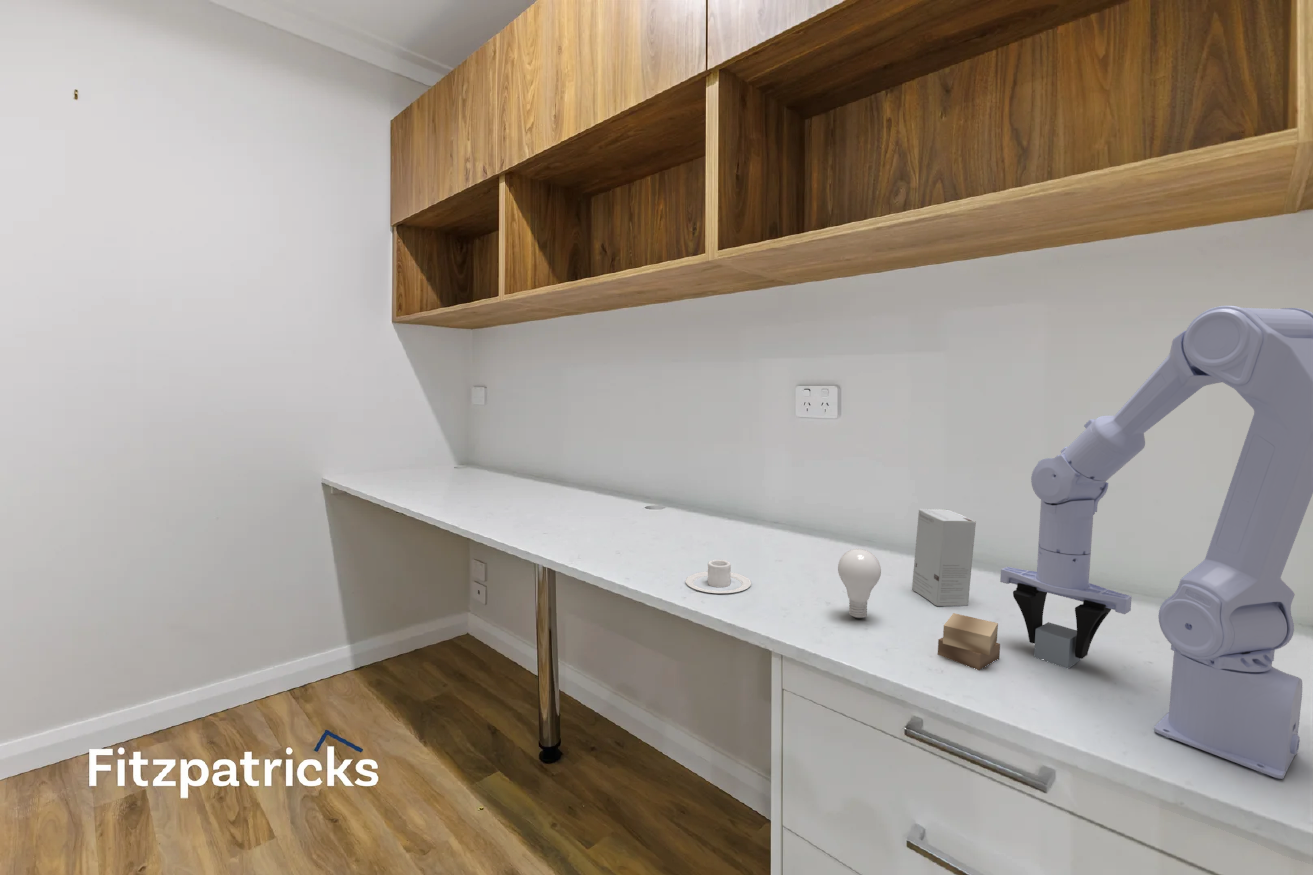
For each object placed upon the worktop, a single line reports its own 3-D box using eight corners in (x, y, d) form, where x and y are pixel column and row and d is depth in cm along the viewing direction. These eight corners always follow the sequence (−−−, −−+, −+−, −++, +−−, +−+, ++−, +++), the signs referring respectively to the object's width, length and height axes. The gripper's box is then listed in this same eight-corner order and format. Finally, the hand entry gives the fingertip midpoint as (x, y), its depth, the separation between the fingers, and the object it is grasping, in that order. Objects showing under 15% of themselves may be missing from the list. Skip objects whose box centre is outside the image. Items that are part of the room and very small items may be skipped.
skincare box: (911, 590, 105) (914, 508, 104) (943, 589, 106) (947, 507, 105) (938, 608, 97) (942, 519, 96) (972, 606, 98) (977, 518, 96)
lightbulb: (871, 629, 88) (874, 558, 87) (830, 619, 92) (832, 550, 91) (884, 616, 94) (886, 548, 92) (844, 607, 97) (846, 541, 96)
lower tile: (999, 661, 79) (1000, 643, 79) (978, 673, 76) (979, 654, 76) (958, 646, 84) (959, 629, 83) (937, 657, 81) (938, 639, 80)
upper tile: (996, 640, 80) (998, 623, 80) (989, 655, 76) (990, 636, 75) (952, 630, 83) (953, 612, 83) (942, 643, 79) (943, 625, 79)
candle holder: (672, 584, 110) (672, 561, 110) (717, 570, 118) (717, 549, 117) (718, 602, 101) (719, 577, 100) (764, 586, 108) (765, 563, 108)
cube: (1080, 660, 79) (1082, 631, 78) (1067, 669, 76) (1069, 639, 76) (1046, 649, 82) (1048, 622, 82) (1033, 657, 80) (1035, 629, 79)
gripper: (1142, 556, 74) (1134, 660, 76) (1018, 533, 86) (1013, 623, 87) (1122, 567, 70) (1114, 676, 71) (995, 540, 82) (990, 635, 83)
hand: (1057, 648), depth 79 cm, fingers open, 5 cm apart
